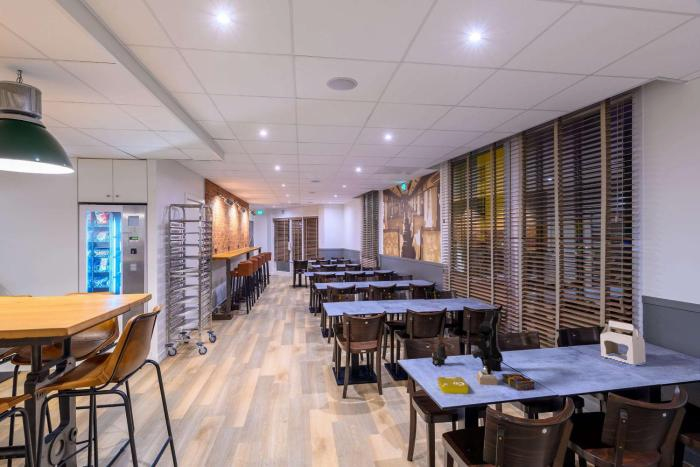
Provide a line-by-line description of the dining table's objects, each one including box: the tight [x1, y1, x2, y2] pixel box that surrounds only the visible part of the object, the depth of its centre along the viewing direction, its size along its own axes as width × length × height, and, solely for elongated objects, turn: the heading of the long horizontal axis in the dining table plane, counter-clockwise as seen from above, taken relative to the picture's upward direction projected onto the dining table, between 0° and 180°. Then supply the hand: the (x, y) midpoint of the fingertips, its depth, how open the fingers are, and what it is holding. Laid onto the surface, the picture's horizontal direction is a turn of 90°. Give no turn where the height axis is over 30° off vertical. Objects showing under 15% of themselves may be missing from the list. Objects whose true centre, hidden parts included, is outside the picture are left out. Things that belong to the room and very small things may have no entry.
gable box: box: [599, 320, 646, 365], centre depth 245 cm, size 22×13×28 cm, turn 20°
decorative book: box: [501, 372, 535, 392], centre depth 202 cm, size 11×16×5 cm
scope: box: [431, 343, 448, 367], centre depth 240 cm, size 8×14×10 cm
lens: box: [481, 364, 491, 375], centre depth 207 cm, size 5×5×6 cm
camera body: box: [476, 370, 498, 386], centre depth 207 cm, size 10×8×6 cm
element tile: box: [437, 376, 469, 395], centre depth 198 cm, size 15×15×5 cm
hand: (486, 371), depth 207 cm, fingers open, 9 cm apart
